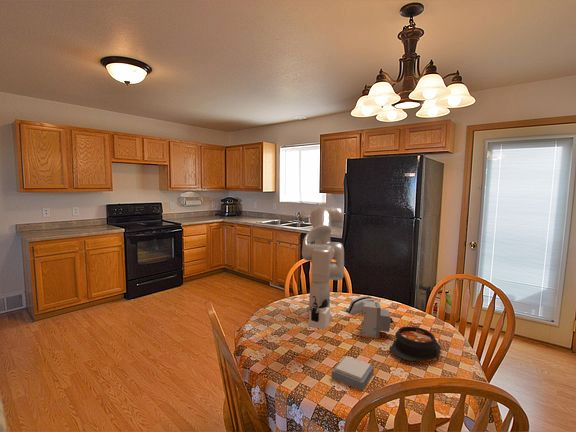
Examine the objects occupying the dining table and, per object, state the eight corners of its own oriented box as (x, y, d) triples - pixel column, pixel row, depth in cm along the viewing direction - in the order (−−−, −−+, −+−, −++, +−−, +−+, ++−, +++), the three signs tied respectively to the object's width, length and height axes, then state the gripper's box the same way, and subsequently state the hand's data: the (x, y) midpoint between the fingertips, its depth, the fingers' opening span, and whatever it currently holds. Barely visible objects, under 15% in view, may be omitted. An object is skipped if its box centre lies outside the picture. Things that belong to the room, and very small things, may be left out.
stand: (331, 378, 113) (332, 368, 112) (344, 363, 123) (344, 353, 122) (362, 390, 106) (363, 380, 106) (373, 373, 116) (374, 363, 116)
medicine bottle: (329, 323, 130) (330, 296, 129) (324, 330, 124) (325, 302, 123) (314, 319, 133) (315, 293, 132) (308, 326, 127) (309, 299, 126)
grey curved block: (367, 305, 183) (371, 292, 179) (372, 311, 179) (377, 297, 175) (345, 311, 175) (349, 297, 171) (350, 316, 171) (354, 302, 167)
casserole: (414, 335, 146) (415, 319, 146) (451, 354, 131) (453, 335, 130) (378, 350, 133) (379, 331, 132) (415, 372, 118) (417, 351, 117)
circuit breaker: (392, 339, 142) (394, 309, 141) (361, 336, 145) (363, 306, 144) (390, 332, 150) (392, 303, 148) (361, 329, 153) (362, 300, 151)
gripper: (322, 270, 135) (321, 308, 138) (302, 281, 121) (301, 322, 123) (337, 273, 131) (336, 312, 133) (318, 285, 117) (317, 327, 119)
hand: (319, 317), depth 128 cm, fingers closed on medicine bottle, 7 cm apart
